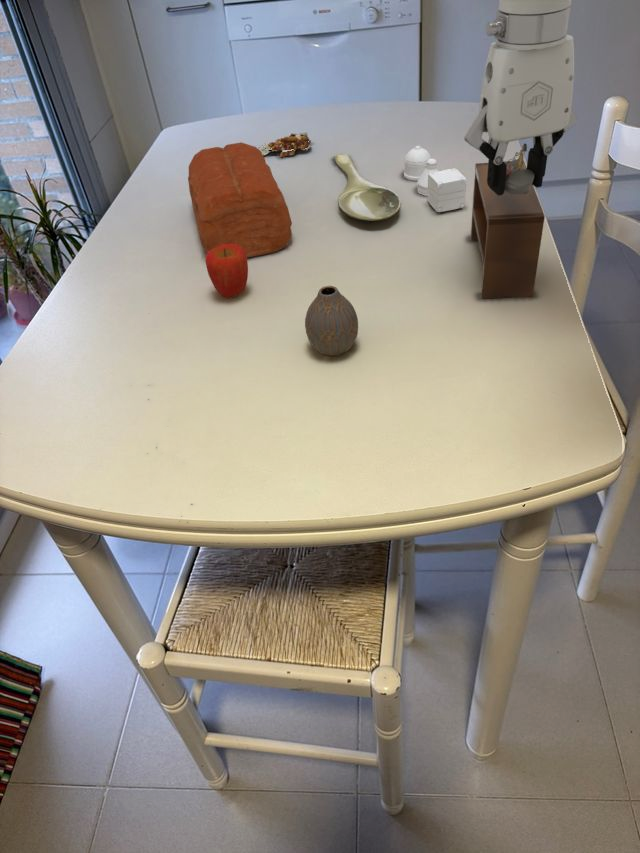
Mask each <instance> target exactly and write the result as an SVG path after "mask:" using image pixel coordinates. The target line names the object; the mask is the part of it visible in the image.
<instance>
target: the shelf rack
mask: <svg viewBox="0 0 640 853" xmlns="http://www.w3.org/2000/svg"><path fill="white" fill-rule="evenodd" d="M503 162H504V163H506V164H507V165H510V164H511V162H512V160H510V161H509V160H507V161H506V160H505V161H503ZM507 162H508V163H507ZM507 167H508V168H509V166H507ZM512 167H513V166H512ZM508 168H507V169H508ZM521 168H525V169H527V164H526V163H525V160H524V159H523V166H522V167H521ZM487 174H488V162H479V163H475V164H474V177H473V178H474V179H473V196H472V209H471V226H470V241H478V246H479V250H480V255H481V256H480V257H481V260H482V265H483V270H482V283H481V294H480V295H481V299H503V298H527V297H528V298H529V297H533V296H534V291H535V285H536V277H537V271H538V264H539V258H540V250H541V244H542V237H543V230H544V225H545V218H546V215H545V213H544V210H543V208H542V204H541V202H540V199H539V197H538V194H537V192H536V188H535V186H534V185H532V184H531V185H532V187H531V189H530V190H528V191H529V192H528V193H527V194H509V193H508V192H506V191H504V193H503V195H499V196H498V195H497V194H496V193H495V192H494V191H492V190H491V189H490V188H489V186H488V184H487Z"/></svg>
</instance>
